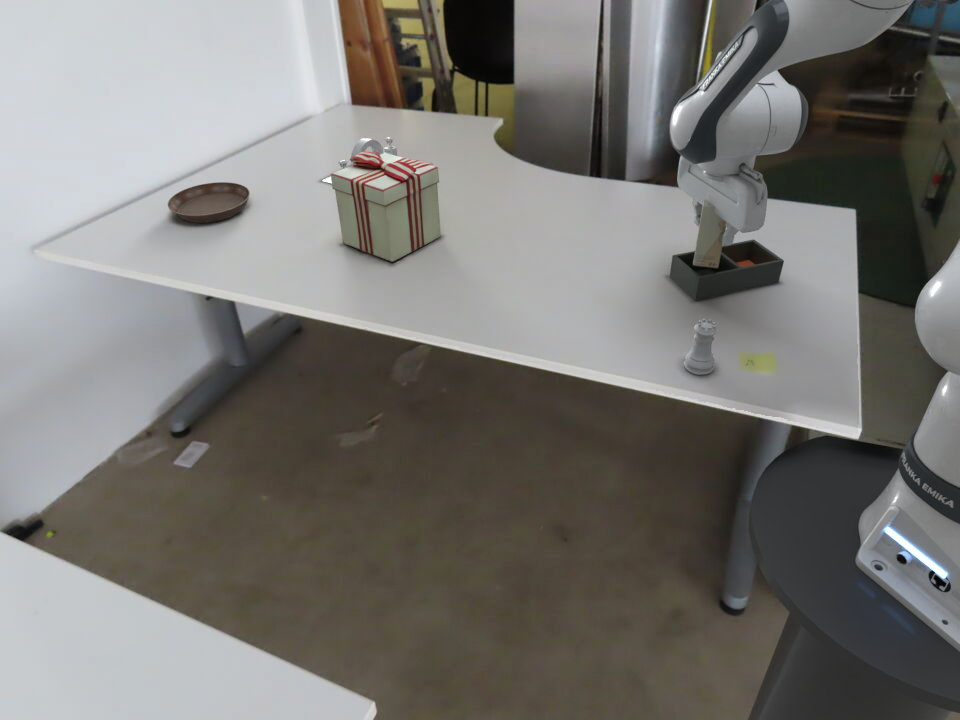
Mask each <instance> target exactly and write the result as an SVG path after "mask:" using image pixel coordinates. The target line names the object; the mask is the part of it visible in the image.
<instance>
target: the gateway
mask: <svg viewBox="0 0 960 720" xmlns="http://www.w3.org/2000/svg"><path fill="white" fill-rule="evenodd" d="M384 141H385V142H386V144H388V145H387V146H386V147H384V148H383V146H382V143H380V142H379V141H378V140H376V139H372V138H366V137H365V138H364V137H363V138H360V139H359V140H358V141H357V142H356V143H355V145H354V146H353V147H352V151H351V154H350V158H352V157H354V156H356V155H358V154H359V153H361V152H366V150H367V149H368V148H369V147H370V148H371V152H372V153H375V152H377V151H378V153H379V155H381V154H383V153H388V154H391V155H395V156H398V149H397V147H396V146H392V145H391V144H393V142H394V137H390V136H388V137H386V138H385V139H384ZM347 163H348V161H347V160H345V159H341V160H340V161H339V162H338V164H339V166H340V167H341V168H342V169H345V168H347V165H348V164H347ZM350 164H351V165H350V166H352V165H355V164H354V162H353V161H350ZM321 182H324V183H328V184H331V185H332V181H331V175H330V176H328V177H326V178H324V179H323V180H321Z"/></svg>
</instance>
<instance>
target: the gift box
mask: <svg viewBox="0 0 960 720" xmlns="http://www.w3.org/2000/svg"><path fill="white" fill-rule="evenodd" d="M351 161H353V162H354V164H355V165H350V166H348V167H347V166H346V167H344V169H343V168H342V169H340V170H337V171H335V172H332V173H331V174H330V176H331V181H332V184H331V186H332V190H334V193H335V200H336V205H337V212H338V218H339V225H340V231H341V237H342V243H343V244H345V245H347V246H349V247H352V248H355V249H357V250H359V251H361V252H363V253H368V254H369V255H373V256H375V257H378V258H380V259H383V260H386V261H388V262H391V263H393V262H395V261H397V260H400V259H401V258H403V257H405V256H407V255H408V254H410V253H413V252H414V251H416V250H418V249H420V248H422V247H424V246H425V245H428V244H430V243H432V242H433V241H435V240H437V239H439V238H440V237H441V236H442V234H441V232H442V231H441V219H440V206H439V205H440V204H439V190H438V184H439V182H440V174H439V167H438V166H436V165H434V163H433V162H424V161H422V160H417V159H415V160H414V159H410V158H407V157H402V156H398V155H397V156H395V155H391V154H388V153H384V152H383V154H381V155H379V153H378V151H377V152H375V153H373V151H365V152H361V153H359V154H358V155H356V156H354V157H352V158H351V157H350V158H349V162H351Z"/></svg>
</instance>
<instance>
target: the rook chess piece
mask: <svg viewBox="0 0 960 720" xmlns="http://www.w3.org/2000/svg"><path fill="white" fill-rule="evenodd" d="M693 327H694V328H693V329H694V331H695V332H696V333H695V334H694V343H693V345H692V348H691V349H690V350H689V351H688V353H687V354H686V355H685V356H684V358H685V359H684V360H683V366H684V368H685V369H686V370H687V372H689V373H690V374H693V375H696V376H707V375H708V374H710V373H712V372H713V371H714V370H715V363H716V361H715V357H714V354H713V352H712V347H713V345H712V344H713V342H714V340H715V336H714V335H716V334H717V333H718V327H717V323H716V322H715V321H713V319H710V318H708V321H707V318H702V319H699V320H697V323H696V324H695V325H694V326H693Z"/></svg>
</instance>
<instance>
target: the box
mask: <svg viewBox="0 0 960 720" xmlns="http://www.w3.org/2000/svg"><path fill="white" fill-rule="evenodd" d="M725 224H726V221H724V220H723V219H722V218H720V217H719V216H717V215H716V214H715V207H714V206H713V205H712V204H710V203H709V202H707V201H706V200H704V202H703V207H702V213H701V218H700V224H699V226H698V232H697V235H696V236H697V237H696V241H695V242H696V243H695V248H694V251H695V255H694V261H693V265H695V266H703V267H711V268H718V266H719V261H720V256H721V251H722V246H723V244H722V243H720V242H719V238H720V233H723V232H725V231H726V229H727V227H726V226H725Z"/></svg>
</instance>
